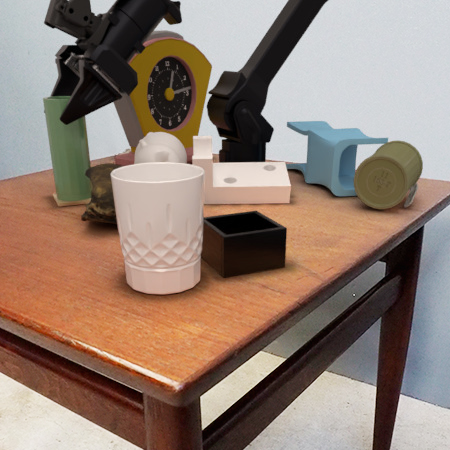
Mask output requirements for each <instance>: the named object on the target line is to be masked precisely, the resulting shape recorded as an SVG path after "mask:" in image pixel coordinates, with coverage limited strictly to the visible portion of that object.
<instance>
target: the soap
mask: <svg viewBox="0 0 450 450" xmlns="http://www.w3.org/2000/svg"><path fill="white" fill-rule="evenodd" d="M130 152H131V148H125V150H124V151H123V152H121V153H120V152H119V153H118V154H115V155H114V157H116V156H117V155H121V154H126V153H130Z"/></svg>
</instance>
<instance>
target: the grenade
mask: <svg viewBox="0 0 450 450" xmlns="http://www.w3.org/2000/svg"><path fill="white" fill-rule="evenodd" d="M423 165H424V163H423V157H422V155H421V153H420V152H419V150H418V149H417V148H416V147H415V146H414V145H413V144H411V143H409V142H407V141H405V140H391V141H388V142H387V143H385V144H381V145H380V146H379V147H378V148H377V149H376V151H375V152H374V153H372V155H370V156H369V157H367V158H365V159H364V160H362V162H360V163H359V164H358V167H357V168H356V169H355V175H354V188H355V192H356V194H357V196H356V197H358V199H359V200H360V201H361V202H362V203H363V204H364V205H366V206H367V207H370V208H372V209H376V210H387V209H392V208H394V207H397V206H398V205H399V204H401V202H403V200H404V199H405V198H406V199H405V202H404V203H403V208H408V207H409V206H411V205H412V204H413V201H414V200H415V197H416V194H417V192H418V189H419V184H418V181H419V180H420V178H421V176H422V173H423V169H424V168H423V167H424V166H423Z"/></svg>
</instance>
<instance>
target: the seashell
mask: <svg viewBox="0 0 450 450" xmlns="http://www.w3.org/2000/svg"><path fill="white" fill-rule="evenodd" d="M120 167H123V166H122V165H117V164H115V163H111V162H110V163H100V164H96V165H92V166H91V167H90V168H88V169H87V170H86V171H85V175H86V176H87V177H88V178H89V179H90V181H91V182H92V186H93V189H92V191H91V201H90V202H89V203H88V204H85V211H84V212H83V213H82V214H81V215H80V217H81V218H80V219H81V220H80V221H82V222H86V221H89V222H97V223H106V224H107V223H108V224H114V225H115V224H116V225H117V219H116V211H115V204H114V196H113V189H112V182H111V175H110V174H111V172H112V171H113V170H115V169H117V168H120Z"/></svg>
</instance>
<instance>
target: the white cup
mask: <svg viewBox="0 0 450 450" xmlns="http://www.w3.org/2000/svg"><path fill="white" fill-rule="evenodd" d="M110 175H111V182H112V189H113V196H114V204H115V211H116V219H117V224H116V225H117V232H118V236H119V237H118V238H119V244H120V250H121V253H122V255H123V262H124V263H123V264H124V270H125V278H126V283H127V285H128V286H129V287H130V288H132V290H134V291H136V292H140V293H144V294H147V295H148V294H149V295H170V294H176V293H182V292H185V291H187V290H190V289H192V288H194V287H195V286H196V285H197V284H199V282H200V281H201V262H202V261H201V259H202V257H201V252H202V241H203V221H204V217H205V216H204V214H205V204H204V180H205V171H204V169H203V168H201V167H199V166H196V165H192V164H190V163H187V164H185V163H174V162H153V163H140V164H133V165H127V166H123V167H120V168H117V169H115V170H113V171H112V172H111V174H110Z"/></svg>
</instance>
